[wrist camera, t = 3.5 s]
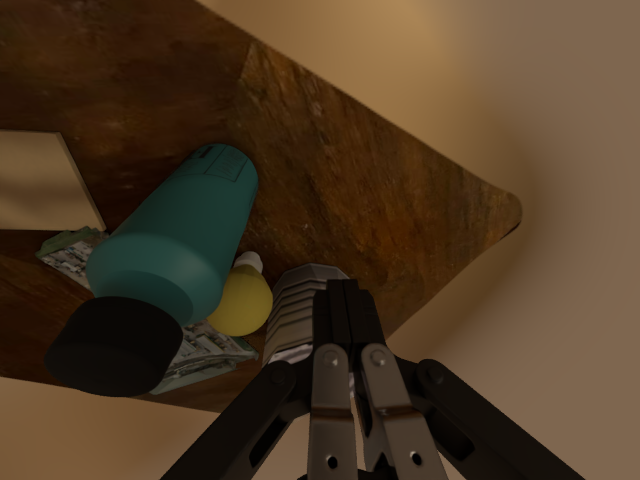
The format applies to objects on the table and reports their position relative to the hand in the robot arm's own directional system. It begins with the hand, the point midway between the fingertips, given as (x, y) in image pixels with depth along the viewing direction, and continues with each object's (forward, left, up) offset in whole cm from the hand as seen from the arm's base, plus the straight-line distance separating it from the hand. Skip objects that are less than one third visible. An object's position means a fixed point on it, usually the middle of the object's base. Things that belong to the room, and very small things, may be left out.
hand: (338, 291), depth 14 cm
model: (+23, -25, -16) cm, 37 cm away
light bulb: (+11, -8, -16) cm, 21 cm away
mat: (+2, -30, -16) cm, 34 cm away
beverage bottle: (0, -9, -16) cm, 18 cm away
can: (+17, 0, -16) cm, 23 cm away
